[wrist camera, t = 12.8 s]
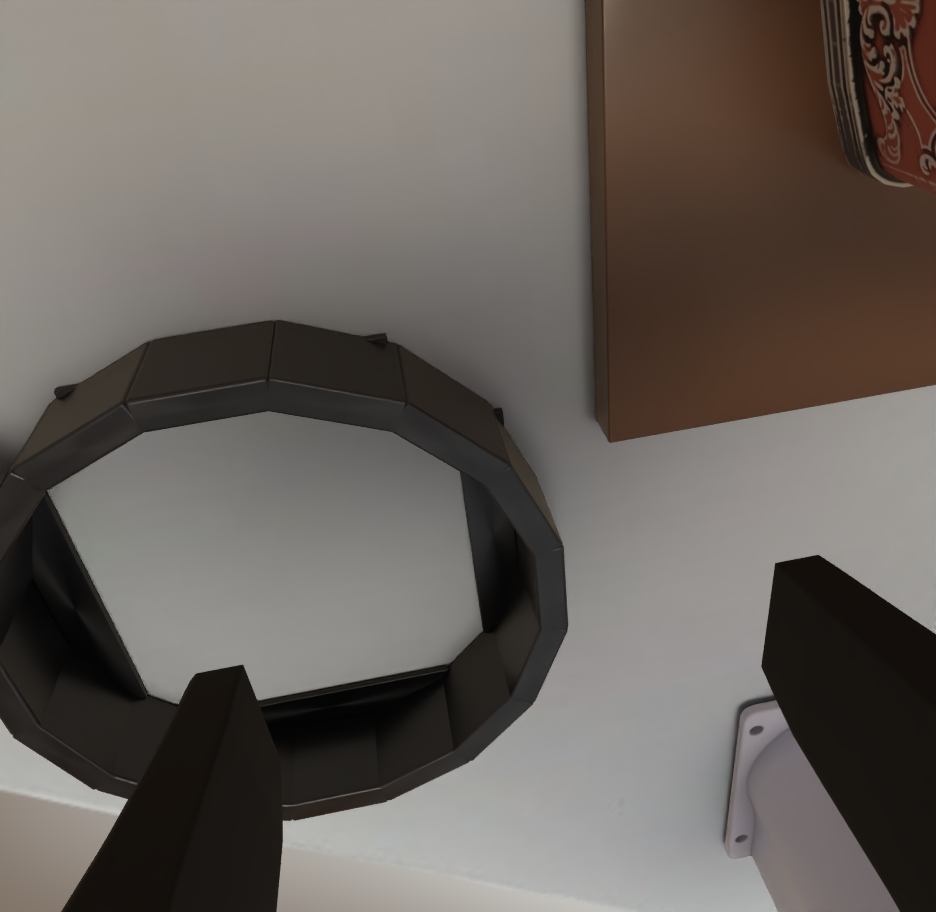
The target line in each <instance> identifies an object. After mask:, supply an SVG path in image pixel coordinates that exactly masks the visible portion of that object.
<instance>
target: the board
mask: <svg viewBox="0 0 936 912" xmlns="http://www.w3.org/2000/svg"><path fill="white" fill-rule="evenodd" d="M585 8H586V46H587V84H588V122H589V161H590V199H591V237H592V275H593V313H594V351H595V390H596V420H597V422H598V424H599V425H600V427H601V429H602V431H603V433H604V434H605V436H606V438H607V440H608V441H609V442H610V443H612V442H617V441H623V440H629V439H634V438H640V437H645V436H651V435H657V434H662V433H668V432H673V431H679V430H685V429H690V428H696V427H701V426H707V425H713V424H718V423H724V422H729V421H735V420H741V419H746V418H752V417H757V416H763V415H769V414H774V413H780V412H786V411H791V410H797V409H802V408H808V407H814V406H819V405H825V404H830V403H836V402H842V401H847V400H853V399H858V398H864V397H870V396H875V395H881V394H886V393H892V392H898V391H903V390H909V389H915V388H920V387H926V386H931V385H936V194H933V193H931V192H928V191H926V190H924V189H921V188H919V187H916V186H909V187H898V186H892V185H886V184H883V183H881V182H879V181H876V180H874V179H872V178H869V177H867V176H865V175H862V174H861V173H859V172H858V171H857V170H855V169H854V168H852V167H851V166H850V165H849V164H848V162H847V160H846V158H845V156H844V154H843V151H842V147H841V142H840V138H839V133H838V129H837V124H836V119H835V115H834V110H833V105H832V101H831V96H830V91H829V87H828V82H827V71H826V60H825V49H824V38H823V27H822V17H821V6H820V0H585Z"/></svg>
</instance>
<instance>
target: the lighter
mask: <svg viewBox="0 0 936 912" xmlns="http://www.w3.org/2000/svg"><path fill="white" fill-rule="evenodd" d="M820 6H821V17H822V27H823V38H824V49H825V60H826V71H827V82H828V87H829V91H830V96H831V101H832V105H833V110H834V115H835V119H836V124H837V129H838V133H839V138H840V142H841V147H842V151H843V154H844V156H845V158H846V160H847V162H848V164H849V165H850V166H851V167H852V168H854V169H855V170H857V171H858V172H859V173H861V174H862V175H865V176H867V177H869V178H872V179H874V180H876V181H879V182H881V183H883V184H886V185H892V186H898V187H909V186H916V187H919V188H921V189H924V190H926V191H928V192H931V193H933V194H936V0H820Z"/></svg>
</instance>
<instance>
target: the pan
mask: <svg viewBox="0 0 936 912" xmlns="http://www.w3.org/2000/svg"><path fill="white" fill-rule="evenodd" d="M54 393H55V395H56V397H57V399H55V400H53V402H52V403H50V404H49V405H48V407H47V408H46V410H45V412H44V413H43V415H42V417H41V418H40V420H39V422H38V423H37V425H36V427H35V428H34V430H33V432H32V433H31V435H30V437H29V438H28V440H27V442H26V443H25V445H24V447H23V448H22V450H21V452H20V453H19V455H18V457H17V458H16V460H15V462H14V463H13V465H12V467H11V468H10V470H9V472H8V473H7V475H6V477H5V478H4V480H3V482H2V484H1V485H0V719H1V720H2V722H3V723H4V725H5V726H6V728H7V729H8V730H9V732H10V733H11V734H12V735H13V738H15V739H16V740H18V741H19V742H21V743H22V744H24V745H26V746H27V747H29V748H30V749H32V750H33V751H35V752H36V753H38V754H39V755H41V756H42V757H44V758H46V759H47V760H49V761H50V762H52V763H53V764H55V765H56V766H58V767H59V768H61V769H63V770H64V771H66V772H67V773H69V774H70V775H72V776H73V777H75V778H76V779H78V780H79V781H81V782H83V783H84V784H86V785H87V786H89V787H90V788H92V789H94V790H95V789H97V790H98V791H101V792H105V793H108V794H112V795H115V796H119V797H122V798H126V799H129V797H130V796H131V794H132V792H133V790H134V788H135V787H136V785H137V783H138V781H139V780H140V778H141V776H142V774H143V772H144V770H145V768H146V767H147V765H148V763H149V761H150V759H151V757H152V755H153V753H154V751H155V750H156V748H157V746H158V744H159V742H160V740H161V738H162V736H163V734H164V732H165V730H166V728H167V726H168V724H169V722H170V720H171V718H172V716H173V714H174V712H175V711H176V709H177V706H175V705H172V704H169V703H166V702H163V701H160V700H157V699H154V698H152V697H149V696H147V691H146V689H145V687H144V685H143V683H142V681H141V679H140V677H139V675H138V673H137V671H136V669H135V667H134V665H133V663H132V661H131V659H130V657H129V655H128V653H127V651H126V649H125V648H124V646H123V644H122V642H121V640H120V638H119V636H118V634H117V632H116V630H115V628H114V626H113V624H112V622H111V620H110V618H109V616H108V614H107V612H106V610H105V608H104V606H103V604H102V602H101V600H100V598H99V596H98V594H97V592H96V590H95V588H94V586H93V584H92V582H91V580H90V578H89V576H88V574H87V572H86V570H85V568H84V566H83V564H82V562H81V560H80V558H79V556H78V554H77V552H76V550H75V548H74V546H73V544H72V542H71V540H70V538H69V536H68V534H67V532H66V530H65V528H64V526H63V524H62V522H61V520H60V518H59V516H58V514H57V512H56V510H55V508H54V506H53V504H52V502H51V500H50V498H49V496H48V494H47V492H46V491H47V490H49V489H50V488H52V487H54V486H55V485H57V484H59V483H60V482H62V481H64V480H65V479H67V478H69V477H70V476H72V475H74V474H75V473H77V472H79V471H80V470H82V469H84V468H85V467H87V466H89V465H90V464H92V463H94V462H95V461H97V460H99V459H100V458H102V457H104V456H105V455H107V454H109V453H111V452H112V451H114V450H116V449H117V448H119V447H121V446H122V445H124V444H126V443H127V442H129V441H131V440H132V439H134V438H136V437H137V436H139V435H141V434H142V433H144V432H149V431H155V430H161V429H167V428H172V427H178V426H184V425H190V424H196V423H202V422H208V421H213V420H219V419H225V418H231V417H237V416H243V415H248V414H254V413H260V412H266V411H271V412H277V413H283V414H289V415H295V416H301V417H307V418H313V419H319V420H325V421H331V422H337V423H343V424H349V425H355V426H361V427H367V428H373V429H379V430H385V431H391V432H393V433H395V434H397V435H399V436H400V437H402V438H404V439H405V440H407V441H409V442H411V443H412V444H414V445H416V446H417V447H419V448H421V449H423V450H424V451H426V452H428V453H429V454H431V455H433V456H435V457H436V458H438V459H440V460H441V461H443V462H445V463H447V464H448V465H450V466H452V467H453V468H455V469H457V470H459V471H460V473H461V480H462V487H463V494H464V501H465V508H466V515H467V522H468V529H469V536H470V543H471V550H472V557H473V564H474V571H475V578H476V585H477V592H478V599H479V606H480V613H481V620H482V627H483V633H482V634H481V635H480V636H479V637H478V638H477V639H476V640H475V641H474V642H473V643H472V644H471V645H470V646H469V647H468V648H467V649H466V650H465V651H464V652H463V653H462V654H461V655H460V656H459V657H458V658H457V659H456V660H455V661H454V662H453V663H452V664H451V665H450V666H449V667H448V668H447V666H441V667H436V668H431V669H426V670H421V671H416V672H410V673H405V674H400V675H395V676H390V677H385V678H380V679H374V680H369V681H364V682H359V683H354V684H349V685H343V686H338V687H333V688H328V689H323V690H318V691H312V692H307V693H302V694H297V695H292V696H287V697H282V698H276V699H271V700H266V701H261V702H258V704H259V707H260V709H261V712H262V714H263V717H264V719H265V722H266V724H267V727H268V730H269V732H270V735H271V737H272V740H273V742H274V745H275V747H276V750H277V753H278V755H279V758H280V760H281V771H282V819H283V821H291V820H292V819H293V820H300V819H305V818H310V817H315V816H320V815H324V814H329V813H334V812H339V811H344V810H349V809H354V808H359V807H364V806H369V805H374V804H378V803H383V802H387V800H392V799H394V798H396V797H398V796H400V795H402V794H404V793H406V792H408V791H411V790H413V789H415V788H417V787H419V786H421V785H423V784H425V783H427V782H429V781H431V780H433V779H435V778H437V777H439V776H442V775H444V774H446V773H448V772H450V771H452V770H454V769H456V768H458V767H460V766H462V765H464V764H466V763H468V762H469V761H472V760H474V759H475V758H476V757H477V756H478V755H479V754H480V753H481V752H482V751H483V750H484V749H485V748H486V747H487V746H489V745H490V744H491V743H492V742H493V741H494V740H495V739H496V738H497V737H498V736H499V735H500V734H501V733H503V732H504V731H505V730H506V729H507V728H508V727H509V726H510V725H511V724H512V723H513V722H514V721H515V720H516V719H518V718H519V717H520V716H521V715H522V714H523V713H524V712H525V711H526V710H527V709H528V708H529V707H530V706H532V705H533V702H535V700H536V698H537V696H538V693H539V691H540V689H541V687H542V685H543V683H544V680H545V678H546V676H547V674H548V672H549V670H550V667H551V665H552V663H553V661H554V659H555V657H556V655H557V652H558V650H559V648H560V646H561V644H562V642H563V639H564V637H565V635H566V633H567V630H568V629H567V628H568V612H567V595H566V578H565V561H564V547H563V544H562V540H561V538H560V535H559V533H558V530H557V528H556V525H555V523H554V520H553V518H552V515H551V512H550V510H549V507H548V505H547V502H546V500H545V497H544V495H543V492H542V490H541V487H540V485H539V482H538V480H537V477H536V476H535V474H534V473H533V471H532V469H531V468H530V466H529V465H528V463H527V462H526V460H525V458H524V457H523V455H522V454H521V452H520V451H519V449H518V447H517V446H516V444H515V443H514V441H513V440H512V438H511V436H510V435H509V433H508V432H507V430H506V429H505V427H504V418H503V411H502V408H498V409H493V408H492V406H491V405H490V404H488V402H487V401H486V400H484V399H482V398H481V397H479V396H478V395H476V394H475V393H473V392H472V391H470V390H469V389H467V388H465V387H464V386H462V385H461V384H459V383H458V382H456V381H455V380H453V379H451V378H450V377H448V376H447V375H445V374H444V373H442V372H441V371H439V370H437V369H436V368H434V367H433V366H431V365H430V364H428V363H427V362H425V361H423V360H422V359H420V358H419V357H417V356H416V355H414V354H413V353H411V352H409V351H408V350H406V349H405V348H403V347H402V346H400V345H396V344H395V343H390V342H387V337H386V334H385V333H384V334H378V335H372V336H366V337H360V336H354V335H349V334H344V333H339V332H334V331H329V330H324V329H319V328H314V327H309V326H304V325H299V324H294V323H289V322H284V321H276V322H274V321H269V322H263V323H257V324H251V325H245V326H238V327H232V328H226V329H220V330H214V331H208V332H202V333H196V334H190V335H184V336H177V337H171V338H165V339H159V340H153V341H152V342H151V343H150V342H149V343H145V344H144V345H142V346H140V347H139V348H137V349H136V350H134V351H132V352H131V353H129V354H128V355H126V356H124V357H123V358H121V359H120V360H118V361H116V362H115V363H113V364H111V365H110V366H108V367H107V368H105V369H103V370H102V371H100V372H99V373H97V374H95V375H94V376H92V377H91V378H89V379H87V380H86V381H84V382H82V383H81V384H78V385H72V386H66V387H60V388H56V389H55V391H54Z"/></svg>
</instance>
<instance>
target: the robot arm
mask: <svg viewBox="0 0 936 912" xmlns="http://www.w3.org/2000/svg"><path fill="white" fill-rule="evenodd" d="M761 667H762V669H763V671H764V674H765V676H766V678H767V680H768V683H769V685H770V687H771V689H772V692H773V694H774V696H775V699H776V700H775V701H770V702H765V703H760V704H755V705H752V706H749V707H747V708H746V709H744V711H743V712H742V713H741V716H740V722H739V730H738V738H737V747H736V755H735V763H734V772H733V780H732V788H731V797H730V805H729V814H728V822H727V830H726V839H725V850H726V852H727V855H728V856H729V857H730V858H741V857H746V856H751V855H752V857H753V859H754V861H755V863H756V865H757V867H758V869H759V872H760V874H761V876H762V878H763V880H764V882H765V884H766V887H767V889H768V891H769V893H770V895H771V897H772V899H773V902H774V904H775V906H776V908H777V910H778V912H936V634H935V633H933V632H932V631H930V630H929V629H927V628H926V627H924V626H923V625H921V624H920V623H918V622H917V621H915V620H914V619H912V618H911V617H909V616H908V615H906V614H905V613H903V612H902V611H900V610H899V609H897V608H896V607H895V606H893V605H892V604H890V603H889V602H887V601H886V600H884V599H883V598H881V597H880V596H878V595H877V594H876V593H874V592H873V591H871V590H870V589H868V588H867V587H865V586H864V585H862V584H861V583H860V582H858V581H857V580H855V579H854V578H852V577H851V576H849V575H848V574H846V573H845V572H843V571H842V570H841V569H839V568H838V567H836V566H835V565H833V564H832V563H830V562H829V561H827V560H826V559H824V558H822V557H821V556H819V555H815V556H810V557H805V558H800V559H794V560H789V561H784V562H779V563H775V570H774V577H773V584H772V592H771V599H770V607H769V614H768V621H767V629H766V636H765V644H764V651H763V658H762V666H761ZM282 842H283V819H282V771H281V760H280V758H279V755H278V753H277V750H276V747H275V745H274V742H273V740H272V737H271V735H270V732H269V730H268V727H267V724H266V722H265V719H264V717H263V714H262V712H261V709H260V707H259V704H258V701H257V699H256V696H255V694H254V691H253V689H252V686H251V684H250V681H249V678H248V676H247V673H246V671H245V668H244V666H243V665H239V666H233V667H228V668H223V669H218V670H212V671H207V672H202V673H197V674H195V676H194V677H193V678H192V679H191V681H190V682H189V684H188V686H187V688H186V690H185V692H184V694H183V696H182V699H181V701H180V703H179V705H178V707H177V709H176V711H175V712H174V714H173V716H172V718H171V720H170V722H169V724H168V726H167V728H166V730H165V732H164V734H163V736H162V738H161V740H160V742H159V744H158V746H157V748H156V750H155V751H154V753H153V755H152V757H151V759H150V761H149V763H148V765H147V767H146V768H145V770H144V772H143V774H142V776H141V778H140V780H139V781H138V783H137V785H136V787H135V788H134V790H133V792H132V794H131V796H130V797H129V799H128V801H127V803H126V804H125V806H124V808H123V810H122V812H121V813H120V815H119V817H118V819H117V821H116V822H115V824H114V826H113V828H112V830H111V831H110V833H109V835H108V836H107V838H106V840H105V841H104V843H103V845H102V847H101V848H100V850H99V852H98V853H97V855H96V856H95V858H94V860H93V861H92V863H91V865H90V866H89V868H88V869H87V871H86V873H85V874H84V876H83V878H82V879H81V881H80V882H79V884H78V886H77V887H76V889H75V890H74V892H73V894H72V895H71V897H70V899H69V900H68V902H67V903H66V905H65V907H64V908H63V910H62V911H61V912H276V910H277V898H278V887H279V877H280V866H281V854H282Z"/></svg>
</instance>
